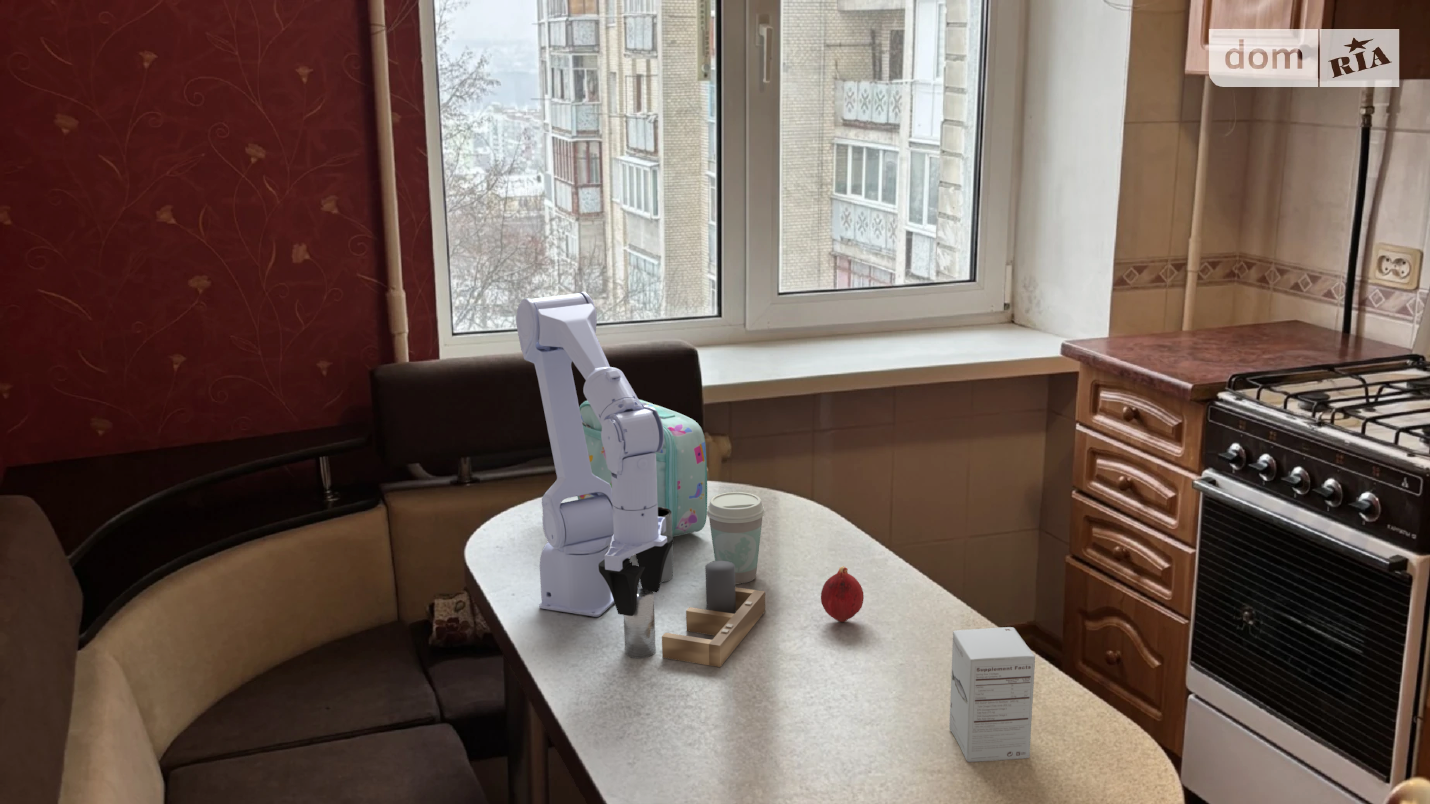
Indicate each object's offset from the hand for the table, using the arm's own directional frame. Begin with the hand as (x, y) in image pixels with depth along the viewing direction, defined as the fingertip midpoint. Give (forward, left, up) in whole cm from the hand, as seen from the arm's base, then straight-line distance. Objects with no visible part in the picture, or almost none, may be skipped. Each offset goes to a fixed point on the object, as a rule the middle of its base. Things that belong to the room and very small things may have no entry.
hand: (638, 602), depth 164 cm
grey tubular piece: (-8, +23, -7) cm, 25 cm away
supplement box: (+46, -8, -7) cm, 48 cm away
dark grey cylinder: (+7, +12, -7) cm, 16 cm away
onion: (+22, +17, -7) cm, 29 cm away
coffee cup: (+3, +27, -7) cm, 28 cm away
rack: (+7, +8, -7) cm, 13 cm away
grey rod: (0, 0, -7) cm, 7 cm away
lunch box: (-20, +42, -7) cm, 47 cm away
